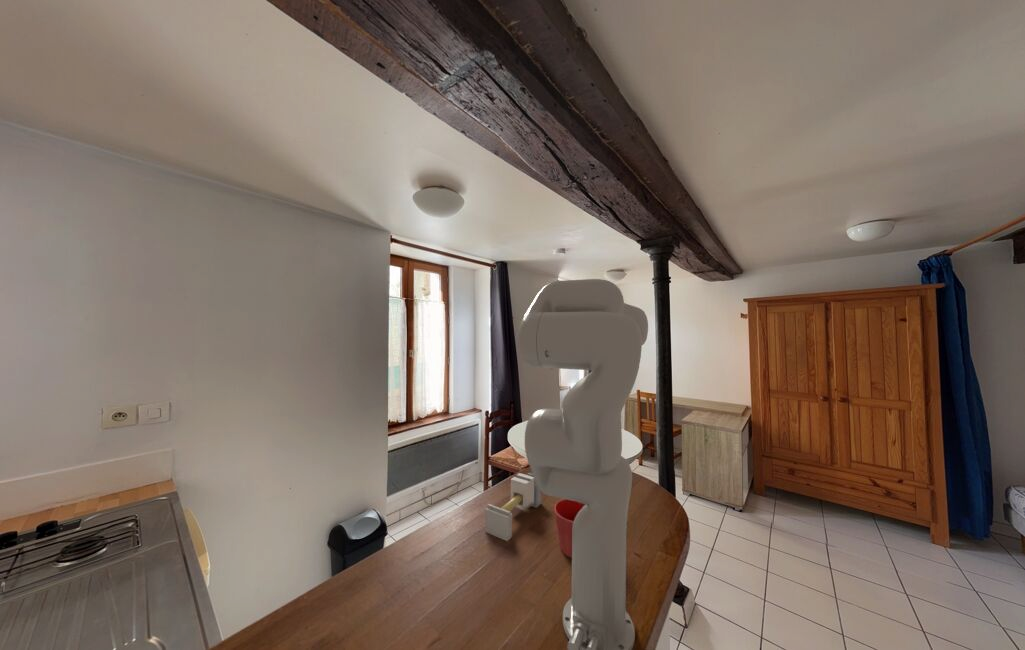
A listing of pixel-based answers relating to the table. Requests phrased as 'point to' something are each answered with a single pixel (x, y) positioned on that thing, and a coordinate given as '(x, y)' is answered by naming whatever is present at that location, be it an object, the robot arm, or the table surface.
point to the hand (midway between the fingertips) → (611, 432)
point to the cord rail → (506, 515)
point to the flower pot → (566, 523)
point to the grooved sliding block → (523, 490)
